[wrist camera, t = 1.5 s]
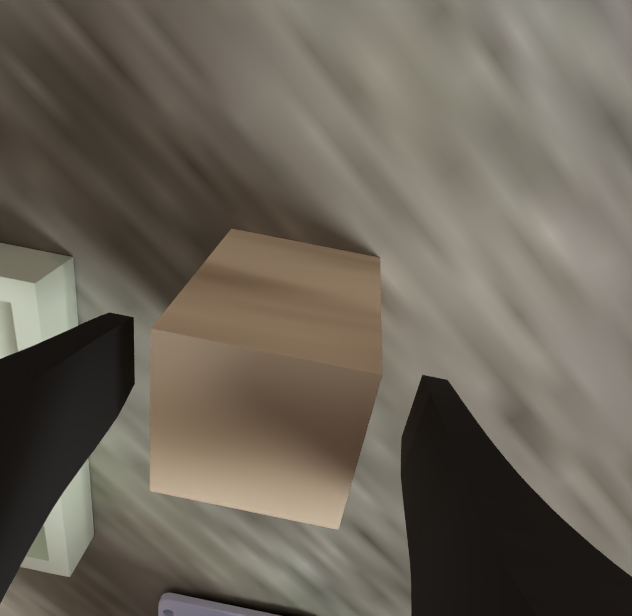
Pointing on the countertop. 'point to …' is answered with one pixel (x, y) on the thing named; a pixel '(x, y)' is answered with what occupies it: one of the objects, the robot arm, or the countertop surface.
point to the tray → (23, 332)
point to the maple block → (267, 378)
